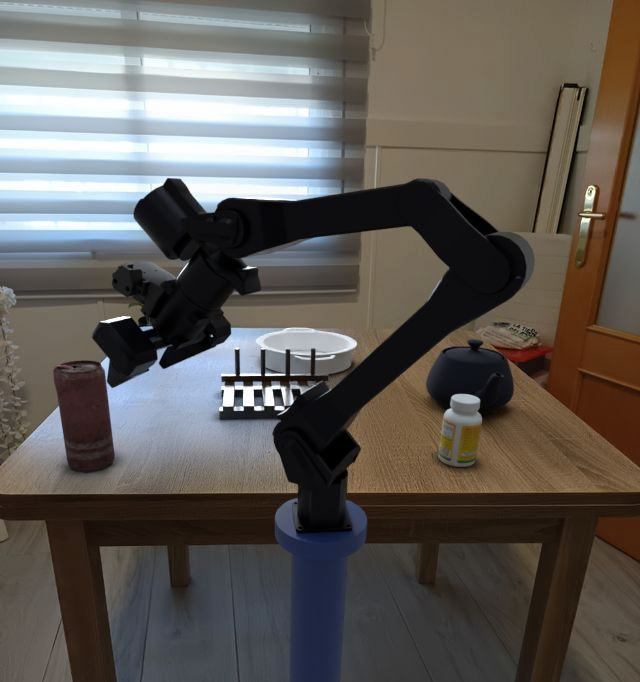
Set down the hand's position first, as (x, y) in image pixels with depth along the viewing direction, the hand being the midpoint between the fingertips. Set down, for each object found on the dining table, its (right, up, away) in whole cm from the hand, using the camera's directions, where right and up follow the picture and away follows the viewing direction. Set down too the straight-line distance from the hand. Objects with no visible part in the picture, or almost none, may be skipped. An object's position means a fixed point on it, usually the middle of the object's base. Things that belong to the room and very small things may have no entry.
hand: (137, 374), depth 73 cm
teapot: (+50, -3, +33) cm, 60 cm away
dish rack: (+16, -3, +30) cm, 34 cm away
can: (-9, -12, +7) cm, 16 cm away
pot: (+20, +8, +56) cm, 60 cm away
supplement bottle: (+43, -12, +12) cm, 46 cm away
